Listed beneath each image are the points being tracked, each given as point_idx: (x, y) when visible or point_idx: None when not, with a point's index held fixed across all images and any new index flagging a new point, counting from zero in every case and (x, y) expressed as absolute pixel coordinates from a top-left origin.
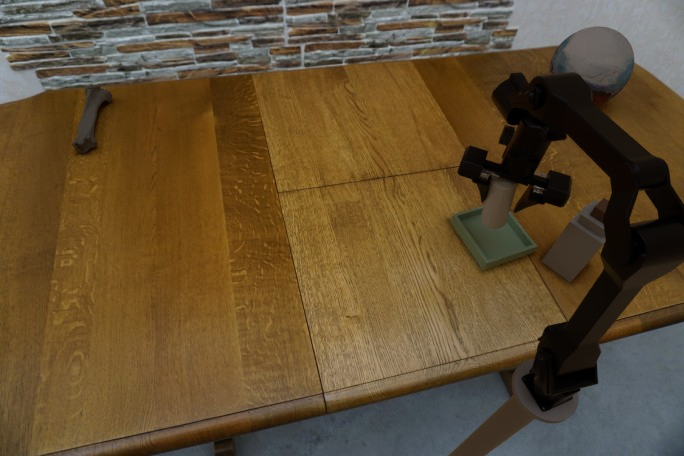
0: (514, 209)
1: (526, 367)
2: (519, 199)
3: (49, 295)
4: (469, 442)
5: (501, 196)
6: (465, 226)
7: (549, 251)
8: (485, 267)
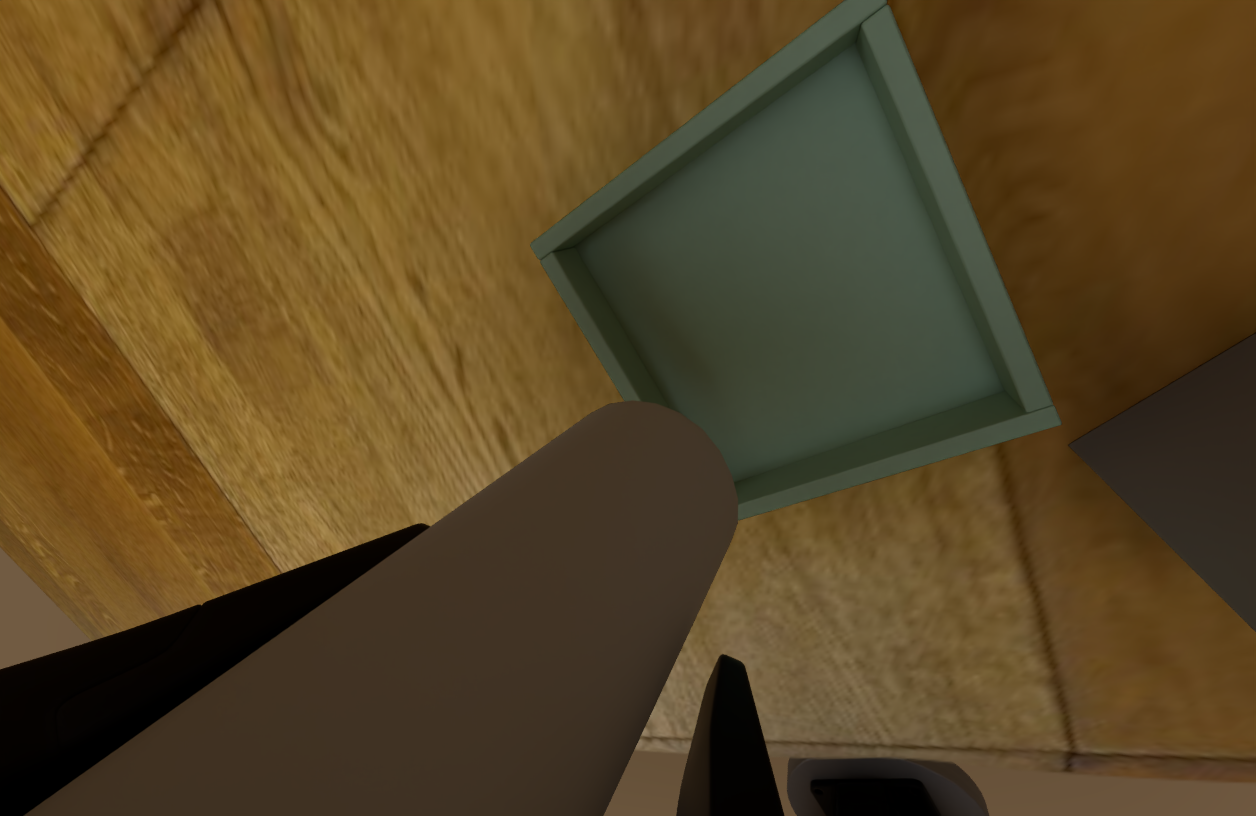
0: (699, 723)
1: (834, 765)
2: (707, 807)
3: (13, 534)
4: None
5: None
6: (629, 269)
7: (1135, 510)
8: None
